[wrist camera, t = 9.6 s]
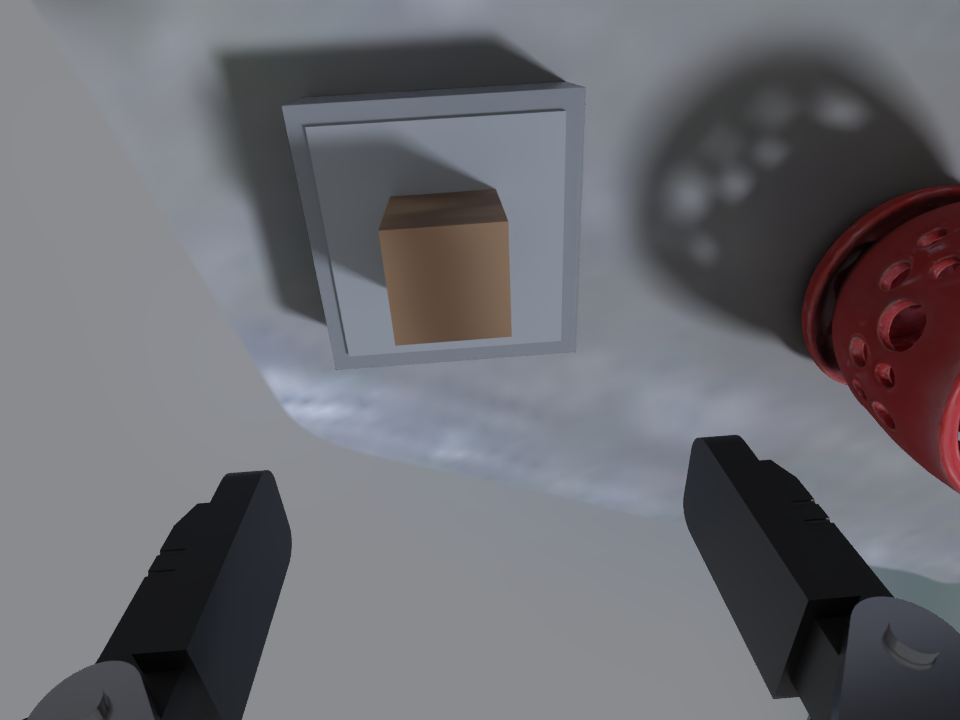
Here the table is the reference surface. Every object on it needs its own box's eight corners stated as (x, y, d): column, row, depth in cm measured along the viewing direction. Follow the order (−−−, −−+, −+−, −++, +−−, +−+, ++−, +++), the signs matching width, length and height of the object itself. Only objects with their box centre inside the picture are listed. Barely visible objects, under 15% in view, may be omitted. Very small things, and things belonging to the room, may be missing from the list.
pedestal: (565, 81, 26) (587, 87, 22) (561, 318, 32) (576, 353, 28) (303, 97, 25) (280, 106, 22) (347, 333, 31) (335, 371, 28)
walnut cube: (496, 189, 24) (508, 221, 19) (500, 288, 26) (511, 336, 22) (389, 196, 24) (378, 230, 19) (402, 295, 26) (395, 345, 21)
